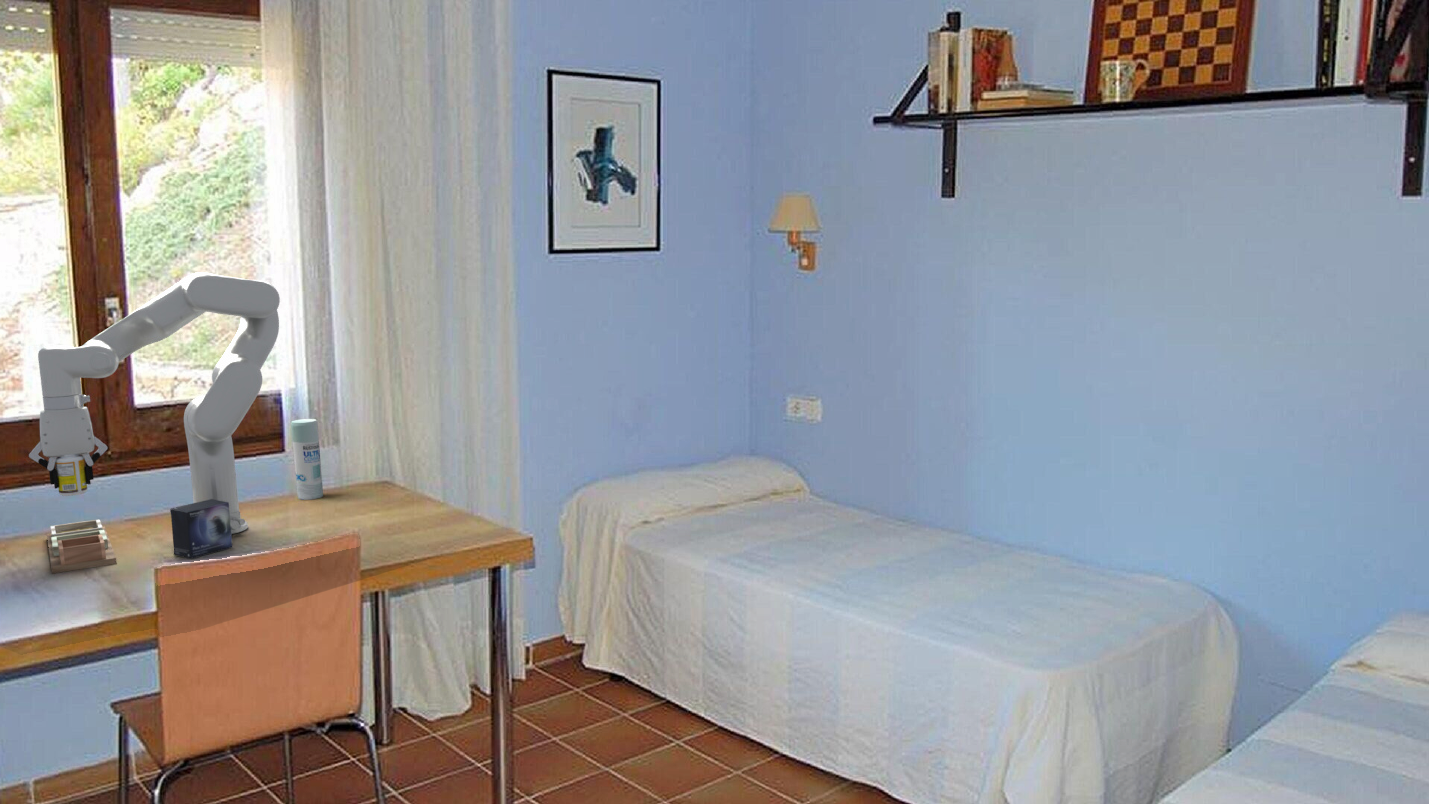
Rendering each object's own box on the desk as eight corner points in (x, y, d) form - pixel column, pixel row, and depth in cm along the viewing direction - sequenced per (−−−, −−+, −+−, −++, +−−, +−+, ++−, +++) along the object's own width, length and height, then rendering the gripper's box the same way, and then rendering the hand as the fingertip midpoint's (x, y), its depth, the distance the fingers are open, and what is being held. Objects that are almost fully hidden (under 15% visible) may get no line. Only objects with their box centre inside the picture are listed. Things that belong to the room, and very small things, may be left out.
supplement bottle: (81, 489, 269) (76, 444, 267) (92, 492, 265) (87, 446, 264) (54, 494, 265) (49, 448, 263) (65, 497, 261) (60, 450, 260)
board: (116, 563, 257) (114, 541, 256) (52, 573, 251) (49, 551, 250) (105, 531, 286) (102, 511, 285) (47, 539, 280) (44, 519, 279)
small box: (191, 559, 258) (186, 511, 256) (172, 556, 261) (167, 508, 260) (234, 547, 267) (230, 501, 265) (215, 544, 270) (211, 498, 268)
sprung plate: (95, 536, 276) (94, 533, 275) (61, 541, 272) (60, 538, 272) (93, 530, 281) (92, 527, 281) (59, 535, 278) (59, 531, 278)
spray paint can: (308, 500, 310) (301, 423, 307) (292, 498, 314) (285, 422, 311) (329, 495, 316) (322, 419, 313) (312, 493, 319) (306, 418, 316)
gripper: (106, 397, 270) (114, 477, 272) (17, 405, 261) (27, 487, 264) (108, 401, 263) (117, 483, 266) (17, 409, 255) (27, 493, 257)
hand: (72, 484), depth 265 cm, fingers closed on supplement bottle, 5 cm apart
